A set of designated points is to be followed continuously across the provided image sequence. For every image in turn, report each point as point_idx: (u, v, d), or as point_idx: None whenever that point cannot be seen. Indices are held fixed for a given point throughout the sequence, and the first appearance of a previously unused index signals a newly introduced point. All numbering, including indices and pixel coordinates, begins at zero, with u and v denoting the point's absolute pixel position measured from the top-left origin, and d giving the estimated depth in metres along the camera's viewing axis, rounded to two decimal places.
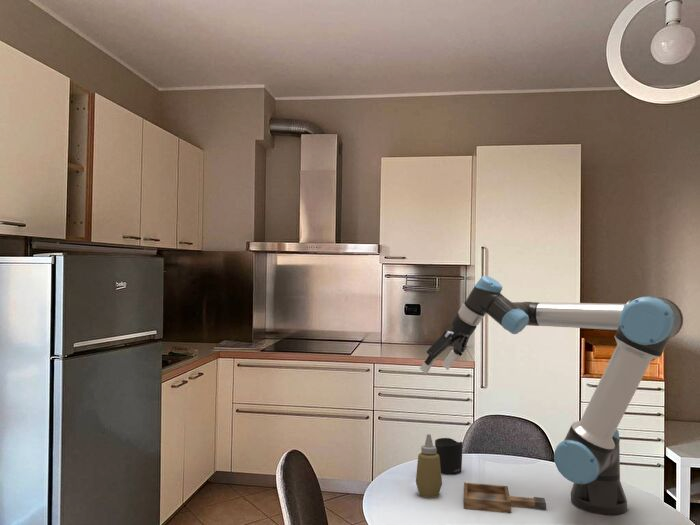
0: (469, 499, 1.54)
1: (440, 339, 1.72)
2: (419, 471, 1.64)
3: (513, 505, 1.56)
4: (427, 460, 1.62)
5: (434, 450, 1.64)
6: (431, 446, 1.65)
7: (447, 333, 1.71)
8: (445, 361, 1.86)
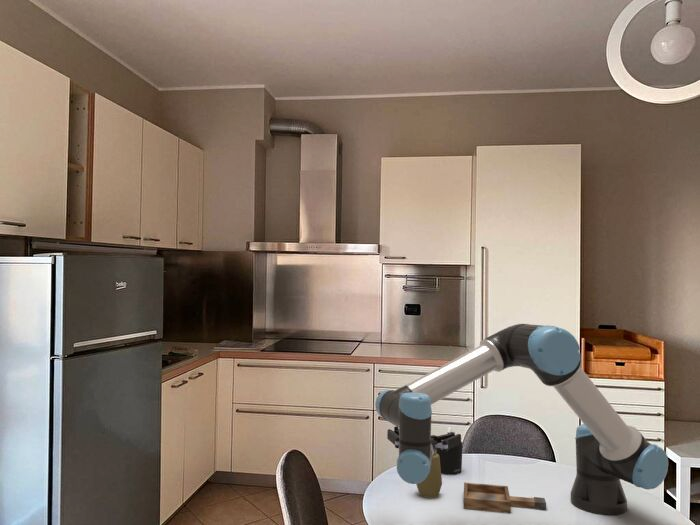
0: (469, 499, 1.54)
1: (451, 445, 1.42)
2: None
3: (513, 505, 1.56)
4: None
5: None
6: None
7: (447, 446, 1.40)
8: None
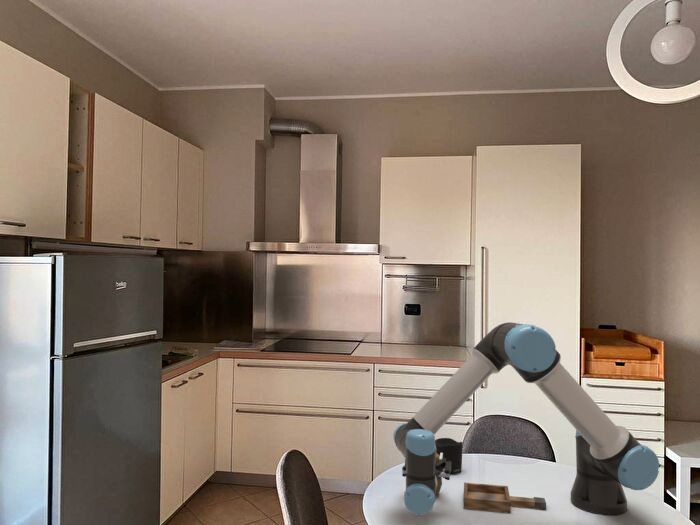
0: (469, 499, 1.54)
1: None
2: None
3: (513, 505, 1.56)
4: None
5: None
6: None
7: (449, 475, 1.53)
8: None
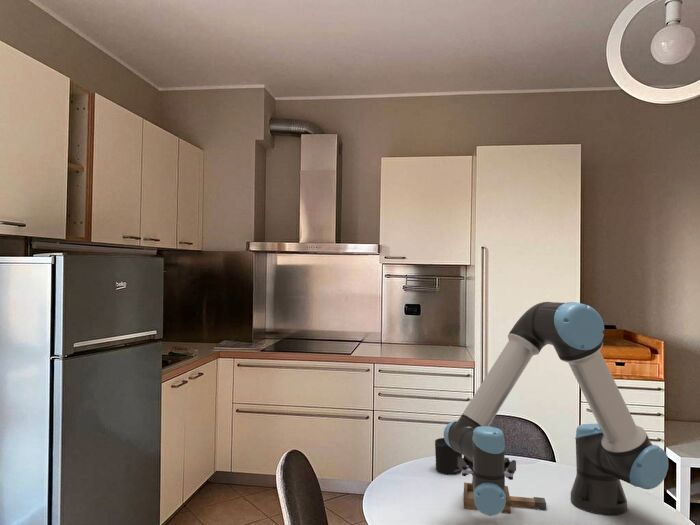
0: (469, 499, 1.54)
1: (512, 472, 1.50)
2: None
3: (513, 505, 1.56)
4: None
5: None
6: None
7: (512, 474, 1.47)
8: None
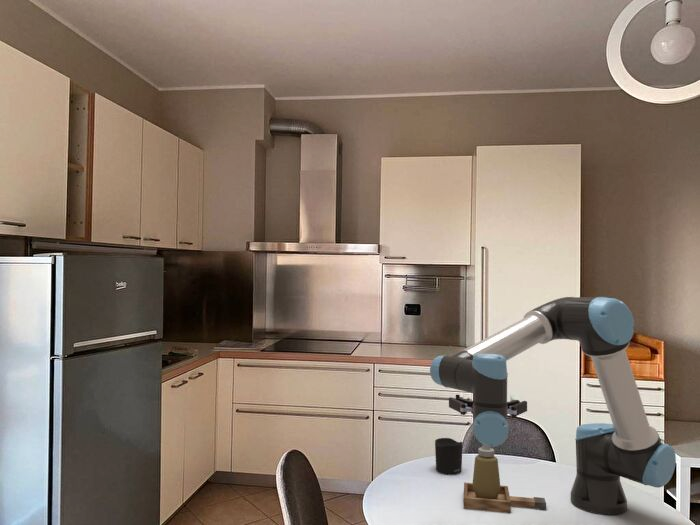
0: (469, 499, 1.54)
1: (519, 411, 1.37)
2: (476, 475, 1.58)
3: (513, 505, 1.56)
4: (485, 463, 1.57)
5: (492, 453, 1.58)
6: (489, 449, 1.59)
7: (516, 412, 1.35)
8: None
